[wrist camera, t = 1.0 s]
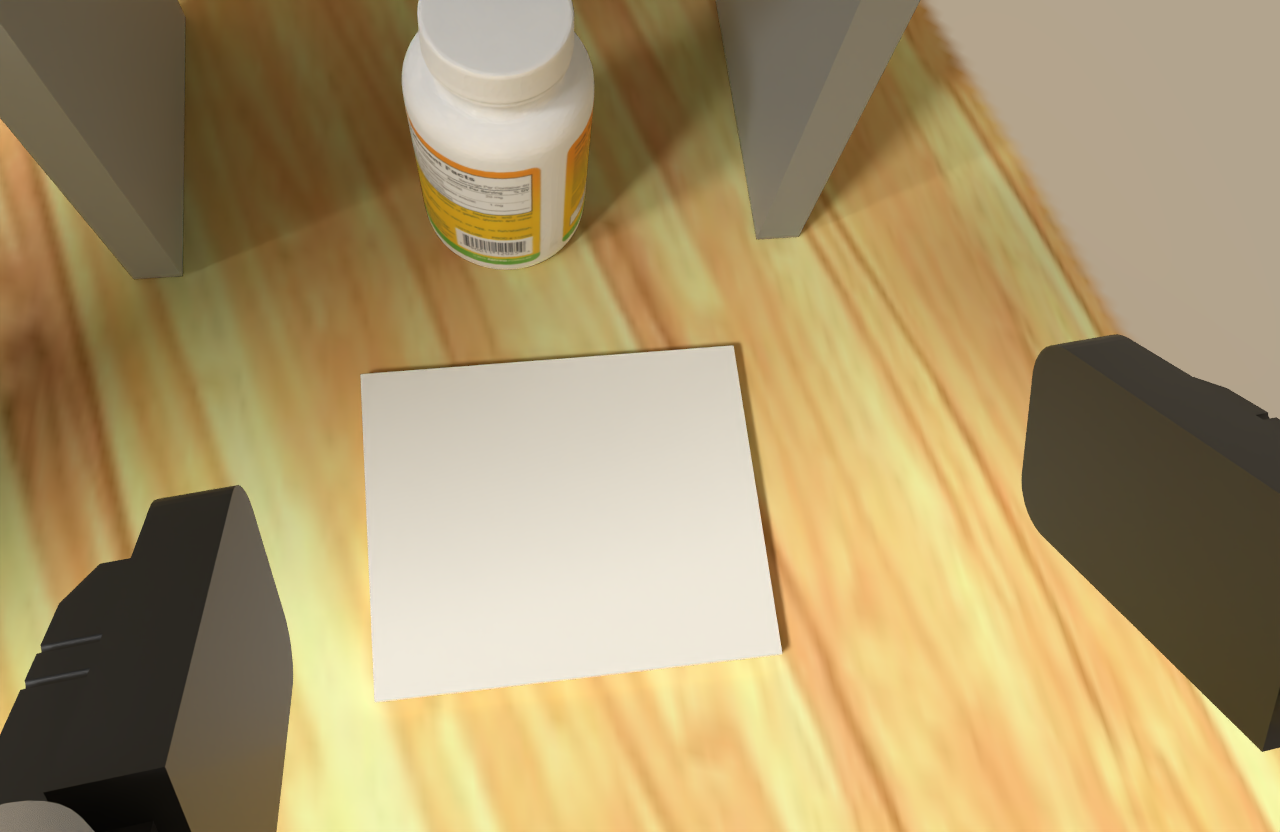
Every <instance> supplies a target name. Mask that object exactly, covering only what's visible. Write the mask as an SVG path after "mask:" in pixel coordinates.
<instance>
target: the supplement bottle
mask: <svg viewBox="0 0 1280 832" xmlns="http://www.w3.org/2000/svg"><path fill="white" fill-rule="evenodd" d="M417 17H418V28H419V31H418V32H417V33H416V35H415V36H414V38H413V39H412V41H411V43H410V45H409V47H408V50H407V52H406V55H405V58H404V62H403V68H402V89H403V97H404V103H405V109H406V113H407V118H408V123H409V128H410V133H411V138H412V142H413V147H414V152H415V157H416V162H417V168H418V173H419V178H420V183H421V188H422V194H423V199H424V204H425V207H426V211H427V215H428V218H429V220H430V223H431V225H432V227H433V229H434V230H435V232H436V234H437V235H438V237H439V238H440V239H441V241H442V242H443V243H444V244H445V245H446V246H447V247H448V248H449V249H450V250H451V251H453V252H454V253H455V254H457V255H458V256H460V257H462V258H463V259H465V260H467V261H469V262H472V263H474V264H477V265H480V266H483V267H487V268H492V269H503V270H509V269H520V268H526V267H529V266H533V265H535V264H538V263H540V262H542V261H544V260H546V259H548V258H550V257H551V256H553V255H554V254H556V253H557V252H558V251H559V250H560V249H562V248H563V247H564V246H565V244H566V243H567V242H568V241H569V240H570V238H571V237H572V236H573V234H574V232H575V231H576V229H577V227H578V225H579V222H580V220H581V216H582V213H583V208H584V201H585V192H586V180H587V168H588V156H589V146H590V138H591V126H592V115H593V105H594V73H593V67H592V64H591V61H590V58H589V55H588V53H587V50H586V49H585V47H584V45H583V43H582V41H581V40H580V38H579V37H578V36H577V34H576V33H575V32H574V9H573V3H572V0H419V1H418V9H417Z"/></svg>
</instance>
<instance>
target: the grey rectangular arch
mask: <svg viewBox="0 0 1280 832" xmlns="http://www.w3.org/2000/svg"><path fill="white" fill-rule="evenodd" d="M919 2H920V0H716V6H717V12H718V17H719V23H720V29H721V35H722V41H723V47H724V52H725V58H726V64H727V70H728V76H729V81H730V87H731V93H732V99H733V105H734V111H735V116H736V122H737V128H738V134H739V140H740V146H741V151H742V157H743V163H744V169H745V175H746V181H747V186H748V192H749V198H750V204H751V210H752V216H753V221H754V227H755V233H756V239H770V238H785V237H799V235H800V233H801V231H802V229H803V227H804V225H805V223H806V221H807V219H808V217H809V215H810V213H811V211H812V210H813V208H814V206H815V204H816V202H817V200H818V198H819V196H820V194H821V192H822V190H823V188H824V186H825V184H826V182H827V180H828V178H829V177H830V175H831V173H832V171H833V169H834V167H835V165H836V163H837V161H838V159H839V157H840V155H841V153H842V151H843V149H844V147H845V145H846V143H847V142H848V140H849V138H850V136H851V134H852V132H853V130H854V128H855V126H856V124H857V122H858V120H859V118H860V116H861V114H862V112H863V110H864V109H865V107H866V105H867V103H868V101H869V99H870V97H871V95H872V93H873V91H874V89H875V87H876V85H877V83H878V81H879V79H880V77H881V76H882V74H883V72H884V70H885V68H886V66H887V64H888V62H889V60H890V58H891V56H892V54H893V52H894V50H895V48H896V46H897V44H898V42H899V41H900V39H901V37H902V35H903V33H904V31H905V29H906V27H907V25H908V23H909V21H910V19H911V17H912V15H913V13H914V11H915V9H916V8H917V6H918V4H919ZM185 18H186V17H185V15H184V13H183V11H182V9H181V6H180V4H179V2H178V0H0V118H1V119H2V121H3V122H4V123H5V124H6V126H7V127H8V128H9V129H10V130H11V132H12V133H13V134H14V135H15V136H16V138H17V139H18V140H19V141H20V142H21V144H22V145H23V146H24V147H25V148H26V150H27V151H28V152H29V153H30V154H31V156H32V157H33V158H34V159H35V161H36V162H37V163H38V164H39V165H40V167H41V168H42V169H43V170H44V171H45V173H46V174H47V175H48V176H49V177H50V179H51V180H52V181H53V182H54V183H55V185H56V186H57V187H58V188H59V190H60V191H61V192H62V193H63V194H64V196H65V197H66V198H67V199H68V200H69V202H70V203H71V204H72V205H73V206H74V208H75V209H76V210H77V211H78V212H79V214H80V215H81V216H82V217H83V218H84V220H85V221H86V222H87V223H88V225H89V226H90V227H91V228H92V229H93V231H94V232H95V233H96V234H97V235H98V237H99V238H100V239H101V240H102V241H103V243H104V244H105V245H106V246H107V247H108V249H109V250H110V251H111V252H112V253H113V255H114V256H115V257H116V258H117V260H118V261H119V262H120V263H121V264H122V266H123V267H124V268H125V269H126V270H127V272H128V273H129V274H130V275H131V276H132V278H133V279H142V278H157V277H173V276H183V197H184V108H185Z"/></svg>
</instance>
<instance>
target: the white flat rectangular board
mask: <svg viewBox="0 0 1280 832" xmlns="http://www.w3.org/2000/svg"><path fill="white" fill-rule="evenodd" d="M360 376H361V399H362V422H363V445H364V468H365V491H366V514H367V537H368V560H369V583H370V606H371V629H372V652H373V675H374V698H375V702H385V701H394V700H402V699H411V698H419V697H428V696H436V695H445V694H453V693H462V692H470V691H479V690H487V689H495V688H504V687H512V686H521V685H529V684H538V683H546V682H555V681H563V680H572V679H580V678H589V677H597V676H606V675H614V674H623V673H631V672H640V671H648V670H657V669H665V668H673V667H682V666H690V665H699V664H707V663H716V662H724V661H733V660H741V659H750V658H758V657H767V656H775V655H781V654H782V648H781V642H780V636H779V629H778V623H777V617H776V610H775V604H774V598H773V592H772V585H771V579H770V573H769V566H768V560H767V554H766V547H765V541H764V535H763V529H762V522H761V516H760V510H759V503H758V497H757V491H756V484H755V478H754V472H753V466H752V459H751V453H750V447H749V440H748V434H747V428H746V421H745V415H744V409H743V403H742V396H741V390H740V384H739V377H738V371H737V365H736V359H735V352H734V346H733V345H732V346H719V347H706V348H693V349H680V350H668V351H655V352H642V353H629V354H616V355H603V356H590V357H577V358H564V359H551V360H538V361H525V362H512V363H499V364H486V365H473V366H460V367H447V368H434V369H421V370H409V371H396V372H383V373H370V374H360Z"/></svg>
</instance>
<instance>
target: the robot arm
mask: <svg viewBox="0 0 1280 832" xmlns="http://www.w3.org/2000/svg"><path fill="white" fill-rule="evenodd" d="M1022 491H1023V497H1024V502H1025V505H1026V508H1027V511H1028V514H1029V516H1030V518H1031V520H1032V522H1033V524H1034V526H1035V527H1036V529H1037V530H1038V531H1039V533H1040V534H1041V535H1042V536H1043V537H1044V538H1045V539H1046V540H1047V541H1048V542H1049V543H1050V544H1051V545H1052V546H1053V547H1054V548H1055V549H1056V550H1057V551H1058V552H1059V553H1060V554H1061V555H1062V556H1063V557H1064V558H1065V559H1066V560H1067V561H1068V562H1069V563H1071V564H1072V565H1073V566H1074V567H1075V568H1076V569H1077V570H1078V571H1079V572H1080V573H1081V574H1082V575H1083V576H1084V577H1085V578H1086V579H1087V580H1088V581H1089V582H1090V583H1091V584H1092V585H1093V586H1094V587H1095V588H1096V589H1097V590H1098V591H1099V592H1100V593H1101V594H1102V595H1103V596H1104V597H1105V598H1106V599H1107V600H1108V601H1109V602H1110V603H1111V604H1112V605H1113V606H1114V607H1115V608H1116V609H1117V610H1118V611H1119V612H1120V613H1121V614H1122V615H1123V616H1124V617H1125V618H1127V619H1128V620H1129V621H1130V622H1131V623H1132V624H1133V625H1134V626H1135V627H1136V628H1137V629H1138V630H1139V631H1140V632H1141V633H1142V634H1143V635H1144V636H1145V637H1146V638H1147V639H1148V640H1149V641H1150V642H1151V643H1152V644H1153V645H1154V646H1155V647H1156V648H1157V649H1158V650H1159V651H1160V652H1161V653H1162V654H1163V655H1164V656H1165V657H1166V658H1167V659H1168V660H1169V661H1170V662H1171V663H1172V664H1173V665H1174V666H1175V667H1176V668H1177V669H1178V670H1179V671H1180V672H1181V673H1182V674H1184V675H1185V676H1186V677H1187V678H1188V679H1189V680H1190V681H1191V682H1192V683H1193V684H1194V685H1195V686H1196V687H1197V688H1198V689H1199V690H1200V691H1201V692H1202V693H1203V694H1204V695H1205V696H1206V697H1207V698H1208V699H1209V700H1210V701H1211V702H1212V703H1213V704H1214V705H1215V706H1216V707H1217V708H1218V709H1219V710H1220V711H1221V712H1222V713H1223V714H1224V715H1225V716H1226V717H1227V718H1228V719H1229V720H1230V721H1231V722H1232V723H1233V724H1234V725H1235V726H1236V727H1237V728H1238V729H1240V730H1241V731H1242V732H1243V733H1244V734H1245V735H1246V736H1247V737H1248V738H1249V739H1250V740H1251V741H1252V742H1253V743H1254V744H1255V745H1256V746H1257V747H1258V748H1259V749H1260V750H1261V751H1262V752H1263V751H1267V750H1271V749H1275V748H1279V747H1280V420H1279V419H1278V418H1271V419H1270V418H1269V417H1268V412H1266V411H1264V410H1263V409H1261V408H1259V407H1258V406H1256V405H1254V404H1253V403H1251V402H1249V401H1248V400H1246V399H1244V398H1243V397H1241V396H1239V395H1238V394H1236V393H1234V392H1232V391H1231V390H1229V389H1227V388H1224V387H1221V386H1218V385H1216V384H1212V383H1210V382H1207V381H1204V380H1201V379H1198V378H1195V377H1192V376H1190V375H1189V374H1187V373H1185V372H1183V371H1182V370H1180V369H1179V368H1177V367H1175V366H1174V365H1172V364H1170V363H1169V362H1167V361H1165V360H1163V359H1162V358H1160V357H1159V356H1157V355H1155V354H1154V353H1152V352H1150V351H1149V350H1147V349H1146V348H1144V347H1142V346H1141V345H1139V344H1137V343H1136V342H1134V341H1132V340H1131V339H1129V338H1127V337H1125V336H1122V335H1109V336H1103V337H1097V338H1092V339H1086V340H1080V341H1074V342H1069V343H1063V344H1057V345H1051V346H1048V347H1046V348H1045V349H1044V350H1042V351H1041V353H1040V354H1039V355H1038V357H1037V359H1036V362H1035V365H1034V370H1033V376H1032V385H1031V395H1030V404H1029V413H1028V422H1027V432H1026V441H1025V450H1024V460H1023V469H1022ZM41 650H42V652H41V653H38V654H36V656H35V659H34V661H33V663H32V665H31V668H30V670H29V672H28V674H27V677H26V679H25V684H26V689H23V690H20V692H19V694H18V697H17V699H16V701H15V703H14V705H13V708H12V710H11V712H10V714H9V717H8V719H7V721H6V723H5V725H4V728H3V730H2V732H1V734H0V832H276V830H277V821H278V812H279V803H280V794H281V785H282V776H283V767H284V758H285V749H286V741H287V732H288V723H289V714H290V705H291V696H292V686H293V662H292V651H291V644H290V637H289V632H288V627H287V623H286V619H285V615H284V612H283V609H282V605H281V602H280V599H279V595H278V592H277V589H276V585H275V582H274V579H273V575H272V572H271V569H270V565H269V562H268V559H267V555H266V552H265V549H264V545H263V542H262V539H261V535H260V532H259V529H258V525H257V522H256V519H255V515H254V512H253V509H252V506H251V503H250V501H249V498H248V496H247V494H246V492H245V491H244V489H243V488H242V487H241V486H239V485H236V486H230V487H225V488H219V489H213V490H207V491H202V492H196V493H190V494H184V495H179V496H173V497H167V498H161V499H157V500H154V501H153V502H152V504H151V506H150V508H149V511H148V513H147V516H146V519H145V521H144V524H143V527H142V529H141V532H140V535H139V537H138V540H137V543H136V545H135V548H134V551H133V554H132V556H131V558H129V559H124V560H118V561H113V562H107V563H102V564H99V565H98V566H97V567H96V568H95V569H94V570H93V571H92V572H91V573H90V574H89V575H88V576H87V577H86V578H85V579H84V580H83V581H82V582H81V583H80V584H79V585H78V586H77V587H76V588H75V589H74V590H73V591H72V592H71V593H70V594H69V595H68V596H67V597H66V598H65V599H63V600H62V601H61V602H60V603H59V605H58V608H57V610H56V612H55V614H54V616H53V619H52V621H51V623H50V625H49V628H48V630H47V632H46V634H45V636H44V639H43V641H42V643H41Z"/></svg>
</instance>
